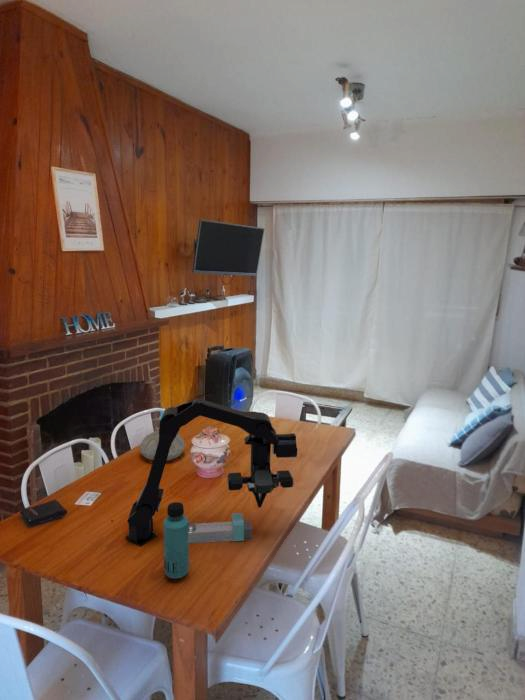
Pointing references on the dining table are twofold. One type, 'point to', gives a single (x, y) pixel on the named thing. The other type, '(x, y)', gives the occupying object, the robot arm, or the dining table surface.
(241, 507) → the dining table surface
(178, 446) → the grey rounded lump
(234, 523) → the lock collar
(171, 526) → the beverage bottle
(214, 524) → the tongs jaw
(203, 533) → the tongs body
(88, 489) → the dining table surface
